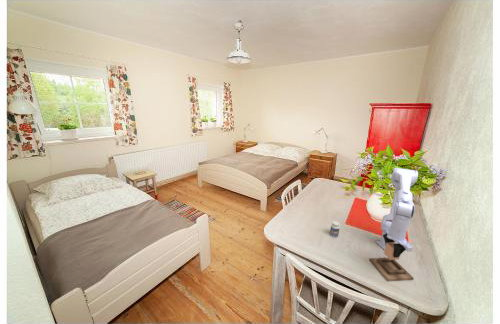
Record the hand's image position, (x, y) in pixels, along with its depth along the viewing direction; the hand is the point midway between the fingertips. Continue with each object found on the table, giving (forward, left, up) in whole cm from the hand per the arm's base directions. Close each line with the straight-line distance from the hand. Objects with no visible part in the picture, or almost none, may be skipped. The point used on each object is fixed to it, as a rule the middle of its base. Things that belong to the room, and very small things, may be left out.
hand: (392, 253), depth 88 cm
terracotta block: (0, 0, -2) cm, 2 cm away
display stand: (0, +1, -9) cm, 9 cm away
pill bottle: (+14, -25, -9) cm, 30 cm away
